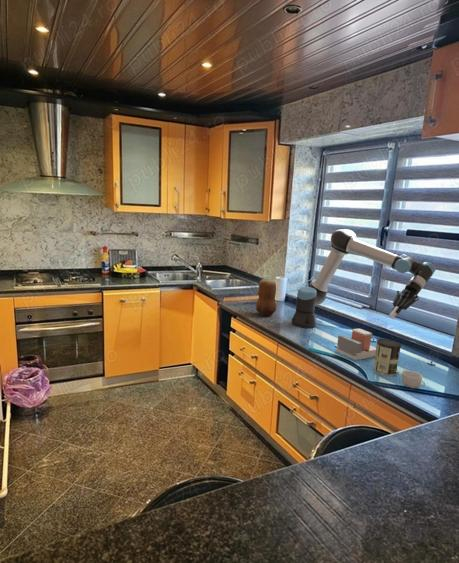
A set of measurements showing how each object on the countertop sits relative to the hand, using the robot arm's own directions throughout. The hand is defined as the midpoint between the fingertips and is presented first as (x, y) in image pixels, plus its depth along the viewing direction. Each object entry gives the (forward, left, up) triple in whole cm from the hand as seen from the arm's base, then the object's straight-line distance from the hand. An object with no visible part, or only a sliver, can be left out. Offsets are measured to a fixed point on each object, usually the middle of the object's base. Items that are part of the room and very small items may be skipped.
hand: (391, 316), depth 203 cm
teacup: (+23, -42, -18) cm, 51 cm away
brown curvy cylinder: (-81, +2, -18) cm, 83 cm away
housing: (-8, -18, -18) cm, 27 cm away
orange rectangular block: (-8, -19, -16) cm, 26 cm away
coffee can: (+9, -34, -18) cm, 40 cm away
